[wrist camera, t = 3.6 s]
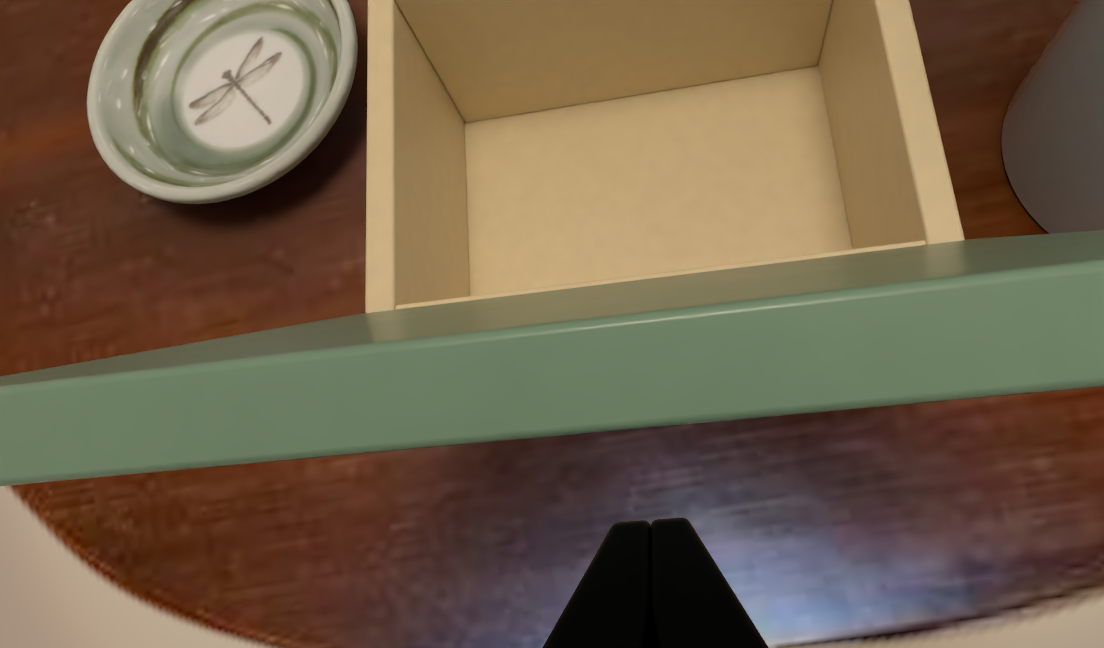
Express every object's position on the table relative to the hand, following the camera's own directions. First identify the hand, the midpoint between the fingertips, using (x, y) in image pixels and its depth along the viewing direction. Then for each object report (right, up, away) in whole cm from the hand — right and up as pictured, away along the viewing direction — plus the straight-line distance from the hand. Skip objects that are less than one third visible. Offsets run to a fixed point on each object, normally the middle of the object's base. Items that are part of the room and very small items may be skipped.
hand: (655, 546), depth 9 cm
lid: (0, +3, +1) cm, 3 cm away
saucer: (-12, +10, +19) cm, 25 cm away
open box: (+2, +6, +15) cm, 16 cm away
